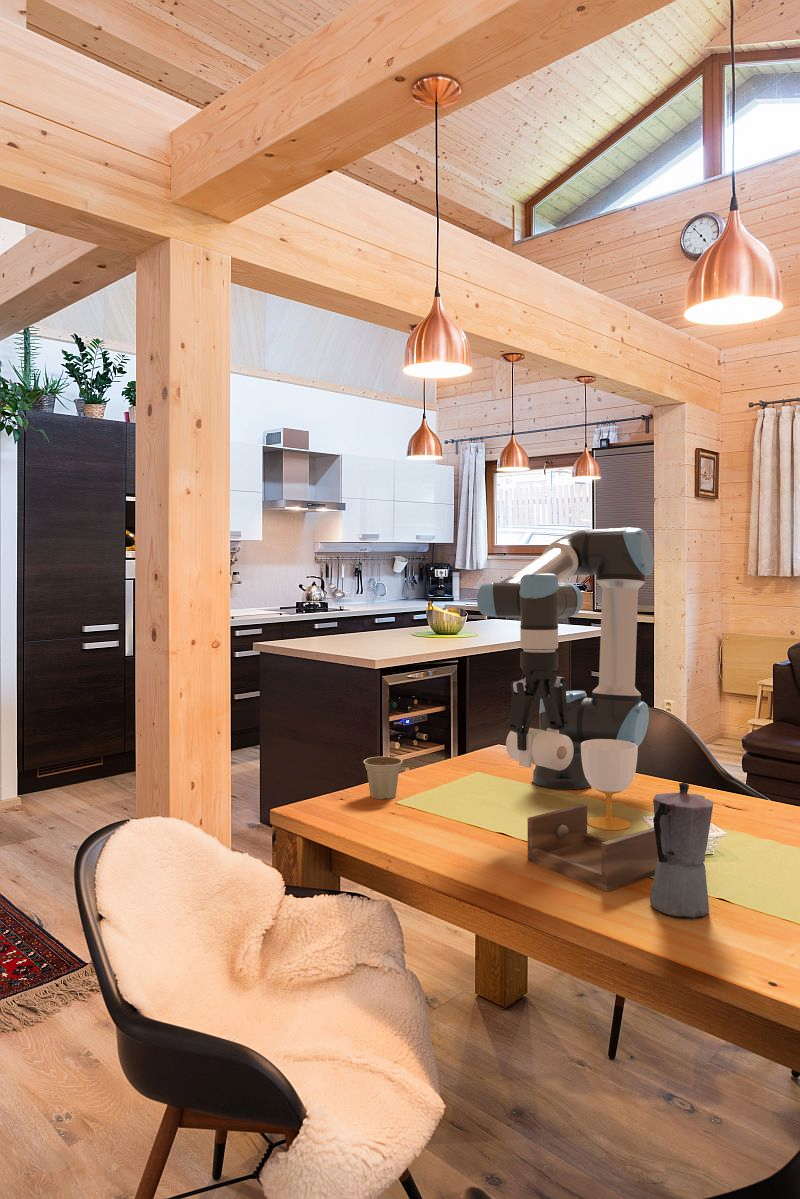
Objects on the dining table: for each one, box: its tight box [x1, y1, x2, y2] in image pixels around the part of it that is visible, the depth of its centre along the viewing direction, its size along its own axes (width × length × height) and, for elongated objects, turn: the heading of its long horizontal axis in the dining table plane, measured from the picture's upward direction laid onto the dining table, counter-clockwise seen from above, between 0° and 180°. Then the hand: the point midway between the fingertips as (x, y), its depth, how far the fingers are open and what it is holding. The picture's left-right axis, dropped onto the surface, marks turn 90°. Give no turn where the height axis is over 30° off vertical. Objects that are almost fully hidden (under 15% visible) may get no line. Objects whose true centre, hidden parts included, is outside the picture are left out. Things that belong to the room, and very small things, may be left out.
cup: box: [581, 739, 639, 832], centre depth 174 cm, size 12×12×17 cm
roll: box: [505, 727, 574, 771], centre depth 165 cm, size 12×7×7 cm, turn 36°
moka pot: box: [649, 782, 714, 918], centre depth 129 cm, size 10×15×20 cm, turn 138°
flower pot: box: [363, 756, 403, 800], centre depth 197 cm, size 9×9×9 cm
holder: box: [527, 803, 658, 892], centre depth 149 cm, size 19×15×8 cm
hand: (539, 763), depth 165 cm, fingers closed on roll, 7 cm apart
